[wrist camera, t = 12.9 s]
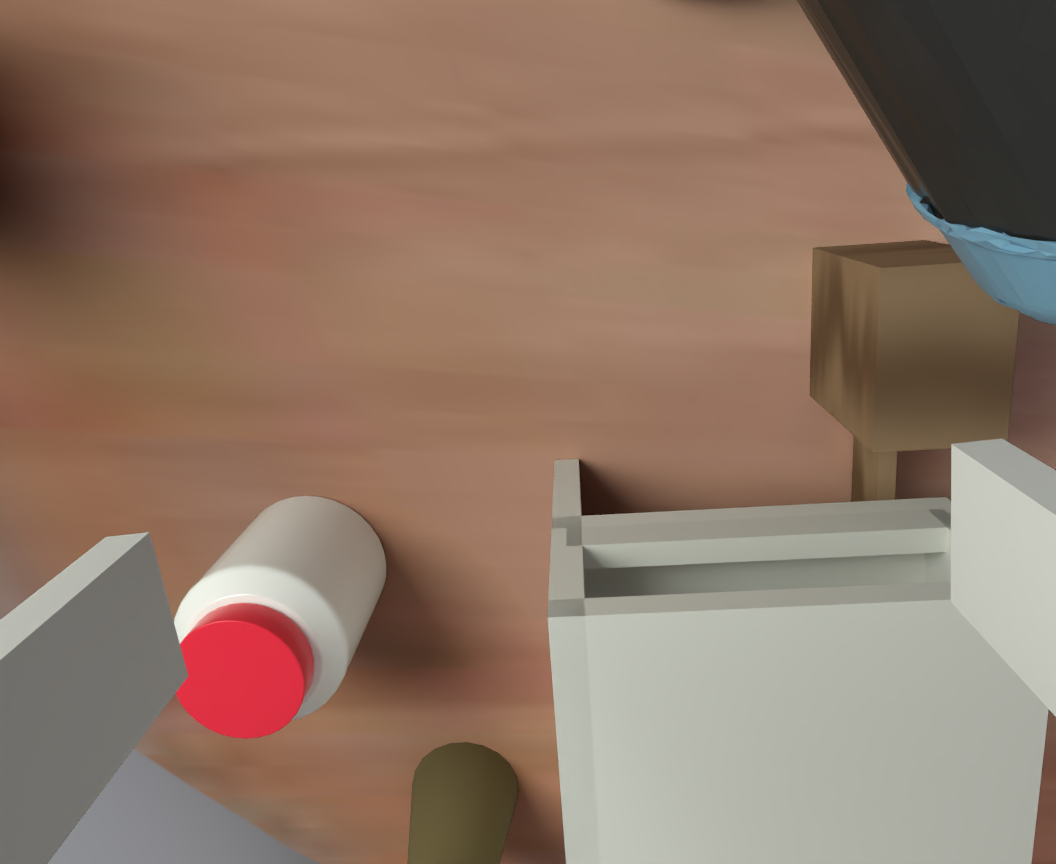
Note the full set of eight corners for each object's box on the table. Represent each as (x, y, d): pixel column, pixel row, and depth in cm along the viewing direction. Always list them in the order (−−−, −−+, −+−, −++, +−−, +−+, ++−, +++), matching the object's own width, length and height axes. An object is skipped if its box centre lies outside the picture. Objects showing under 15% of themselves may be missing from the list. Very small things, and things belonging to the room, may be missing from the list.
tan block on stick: (812, 247, 40) (881, 267, 31) (924, 240, 39) (1024, 258, 31) (804, 617, 45) (861, 722, 36) (902, 613, 45) (983, 718, 36)
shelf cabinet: (554, 460, 43) (547, 617, 28) (881, 442, 42) (1061, 594, 27) (579, 824, 49) (585, 1117, 34) (865, 816, 48) (1003, 1114, 33)
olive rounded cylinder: (520, 746, 48) (507, 906, 38) (516, 835, 50) (502, 1012, 39) (412, 738, 48) (369, 896, 38) (412, 828, 50) (370, 1003, 39)
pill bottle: (236, 616, 47) (139, 745, 36) (247, 483, 44) (146, 579, 34) (377, 640, 47) (322, 776, 36) (395, 509, 44) (342, 613, 34)
